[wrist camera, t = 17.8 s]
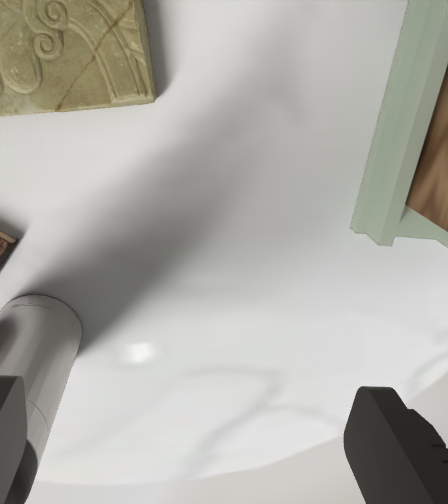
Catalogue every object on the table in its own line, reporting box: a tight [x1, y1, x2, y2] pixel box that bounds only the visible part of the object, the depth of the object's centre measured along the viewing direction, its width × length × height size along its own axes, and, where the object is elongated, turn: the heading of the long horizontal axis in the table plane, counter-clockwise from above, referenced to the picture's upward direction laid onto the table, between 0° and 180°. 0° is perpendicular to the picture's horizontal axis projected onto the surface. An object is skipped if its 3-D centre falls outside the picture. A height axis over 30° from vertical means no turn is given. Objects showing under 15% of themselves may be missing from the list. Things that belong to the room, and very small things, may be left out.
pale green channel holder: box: [350, 0, 448, 248], centre depth 41 cm, size 22×12×4 cm, turn 173°
